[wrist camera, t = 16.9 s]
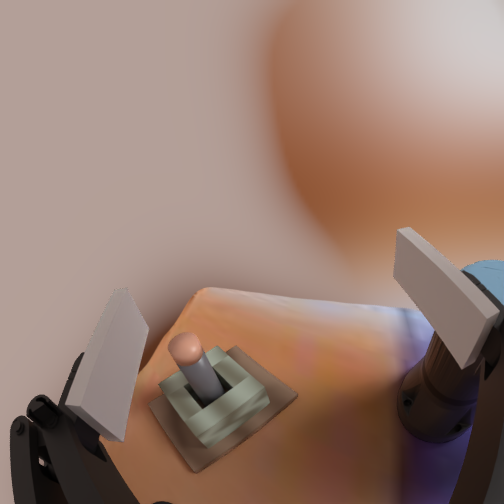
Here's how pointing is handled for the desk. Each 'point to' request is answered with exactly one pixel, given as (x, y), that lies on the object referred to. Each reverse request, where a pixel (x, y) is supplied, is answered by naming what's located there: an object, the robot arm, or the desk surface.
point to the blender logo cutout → (161, 502)
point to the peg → (196, 367)
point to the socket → (220, 407)
